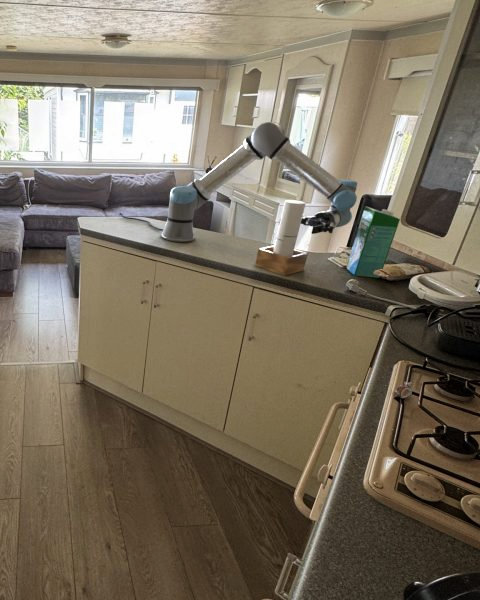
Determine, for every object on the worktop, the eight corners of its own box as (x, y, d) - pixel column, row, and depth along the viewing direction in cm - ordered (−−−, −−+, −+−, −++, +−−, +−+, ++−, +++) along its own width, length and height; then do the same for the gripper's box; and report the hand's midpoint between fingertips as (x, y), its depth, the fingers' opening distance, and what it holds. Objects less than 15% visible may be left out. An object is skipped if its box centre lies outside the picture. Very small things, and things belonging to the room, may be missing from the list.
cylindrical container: (288, 269, 165) (304, 204, 155) (268, 266, 168) (283, 202, 158) (290, 265, 170) (306, 201, 160) (271, 261, 174) (286, 199, 164)
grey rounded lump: (403, 392, 95) (410, 377, 93) (411, 399, 92) (418, 383, 91) (390, 392, 94) (397, 377, 93) (398, 399, 92) (404, 383, 91)
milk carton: (379, 278, 163) (402, 212, 153) (354, 275, 165) (374, 210, 155) (370, 270, 171) (391, 207, 161) (345, 267, 173) (365, 205, 163)
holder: (254, 265, 171) (258, 248, 168) (273, 260, 178) (277, 244, 175) (284, 275, 161) (289, 258, 159) (303, 270, 168) (308, 253, 165)
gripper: (353, 236, 169) (325, 243, 158) (294, 222, 188) (265, 228, 177) (359, 217, 166) (331, 223, 155) (298, 205, 185) (269, 210, 174)
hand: (296, 226), depth 166 cm, fingers open, 13 cm apart
